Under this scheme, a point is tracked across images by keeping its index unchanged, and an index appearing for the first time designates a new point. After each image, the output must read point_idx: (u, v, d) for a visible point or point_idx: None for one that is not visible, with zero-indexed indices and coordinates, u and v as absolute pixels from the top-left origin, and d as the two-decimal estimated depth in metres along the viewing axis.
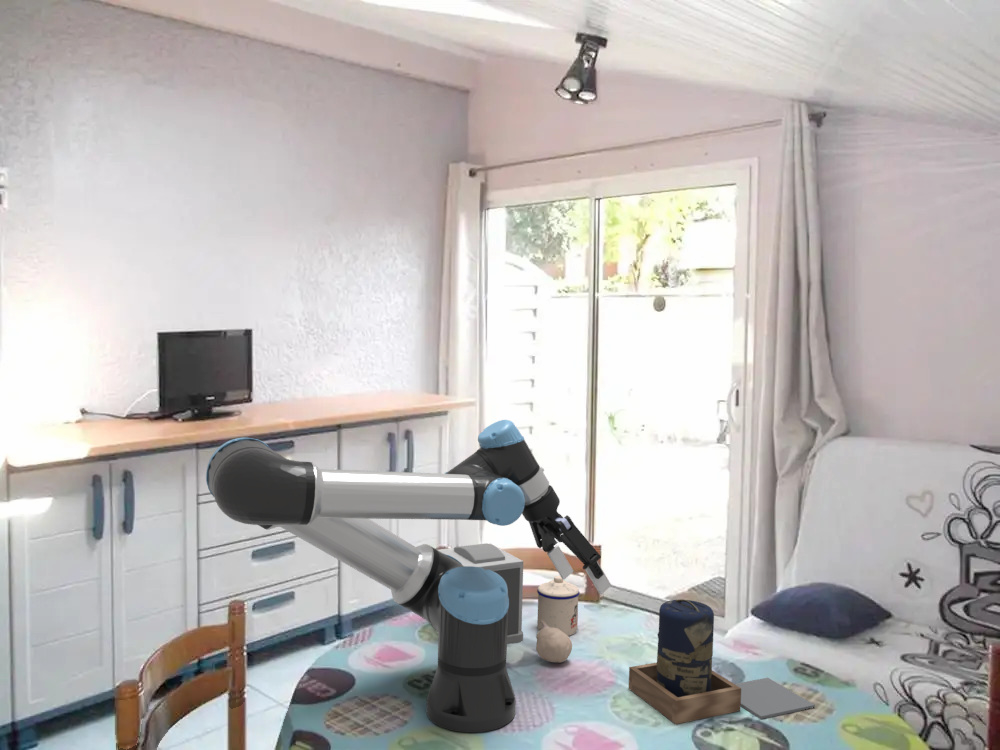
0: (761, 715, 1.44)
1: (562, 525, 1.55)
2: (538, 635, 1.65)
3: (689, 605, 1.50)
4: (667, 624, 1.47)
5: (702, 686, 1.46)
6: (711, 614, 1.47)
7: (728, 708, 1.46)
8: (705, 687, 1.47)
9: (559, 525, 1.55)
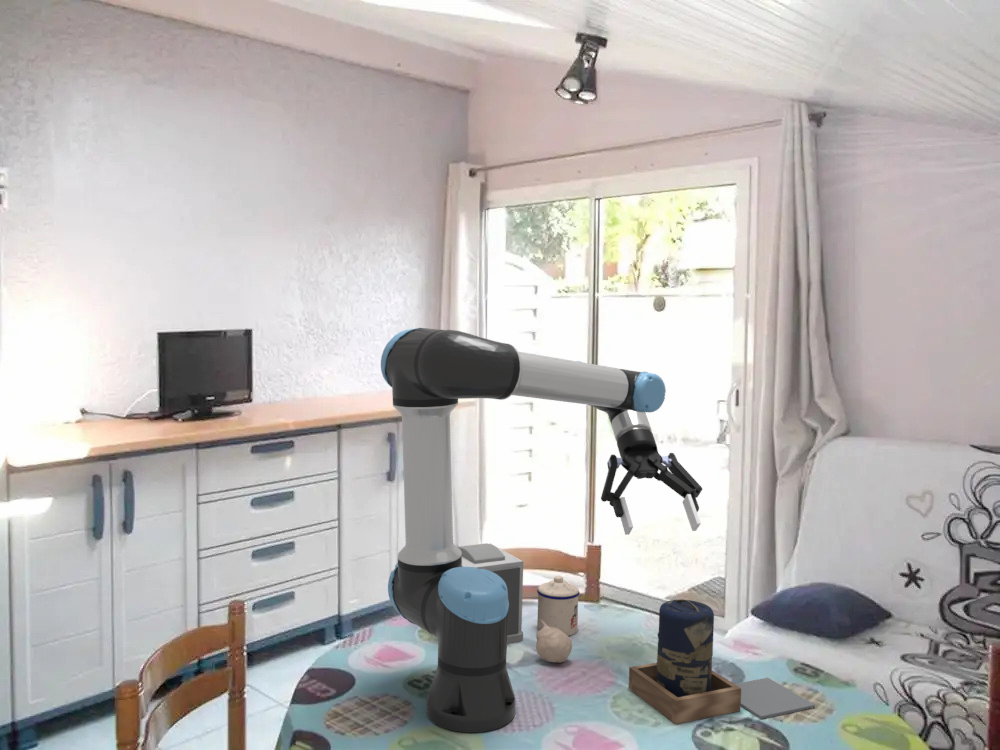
0: (761, 715, 1.44)
1: None
2: (538, 635, 1.65)
3: (689, 605, 1.50)
4: (667, 624, 1.47)
5: (702, 686, 1.46)
6: (711, 614, 1.47)
7: (728, 708, 1.46)
8: (705, 687, 1.47)
9: (673, 454, 1.69)
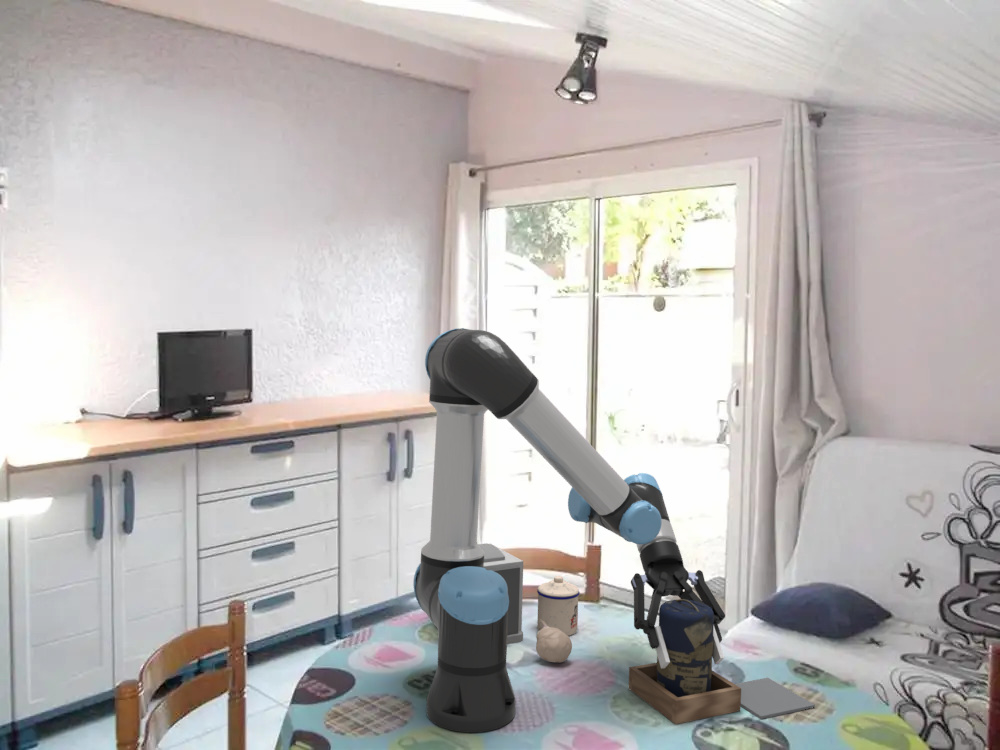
0: (761, 715, 1.44)
1: None
2: (538, 635, 1.65)
3: (689, 605, 1.50)
4: (667, 624, 1.47)
5: (702, 686, 1.46)
6: (711, 614, 1.47)
7: (728, 708, 1.46)
8: (705, 687, 1.47)
9: (701, 572, 1.58)
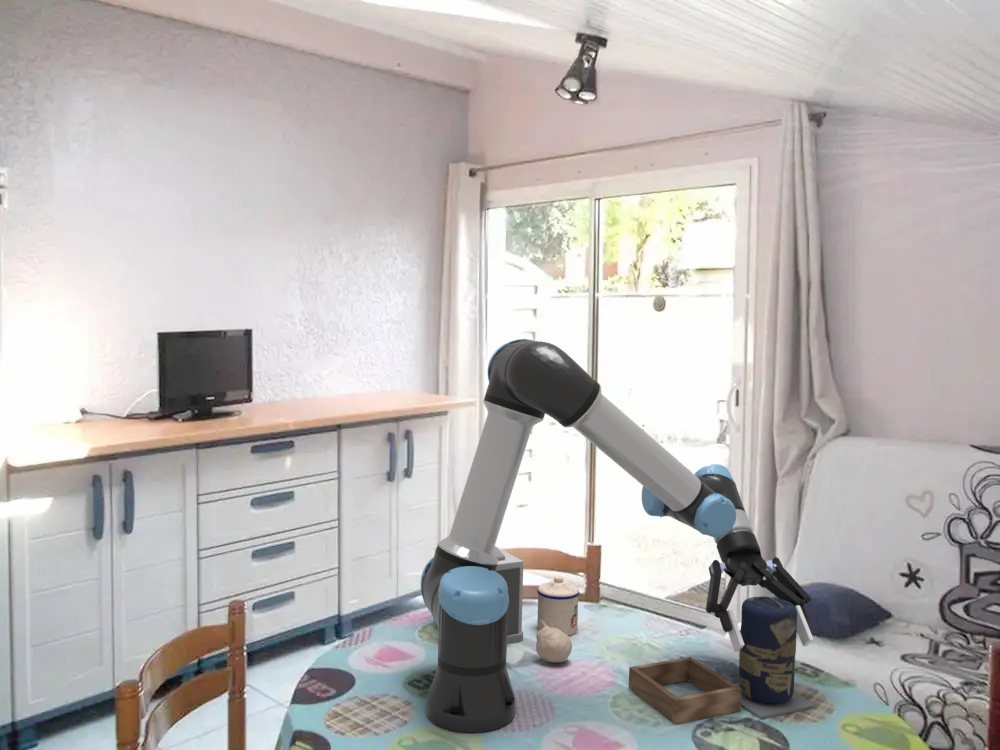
0: (761, 715, 1.44)
1: None
2: (538, 635, 1.65)
3: (771, 602, 1.51)
4: (752, 621, 1.48)
5: (787, 682, 1.47)
6: (795, 611, 1.48)
7: (728, 708, 1.46)
8: (790, 683, 1.48)
9: (777, 559, 1.59)
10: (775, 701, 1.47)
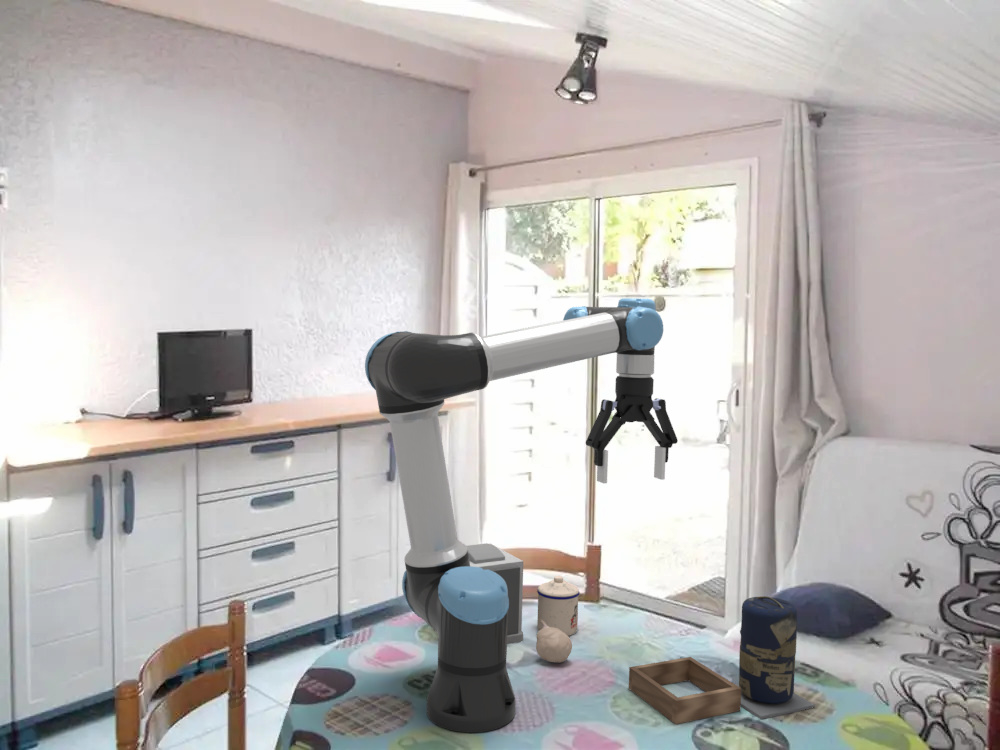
0: (761, 715, 1.44)
1: None
2: (538, 635, 1.65)
3: (772, 602, 1.51)
4: (752, 621, 1.48)
5: (787, 682, 1.47)
6: (795, 611, 1.48)
7: (728, 708, 1.46)
8: (790, 683, 1.48)
9: (664, 401, 1.72)
10: (775, 701, 1.47)
